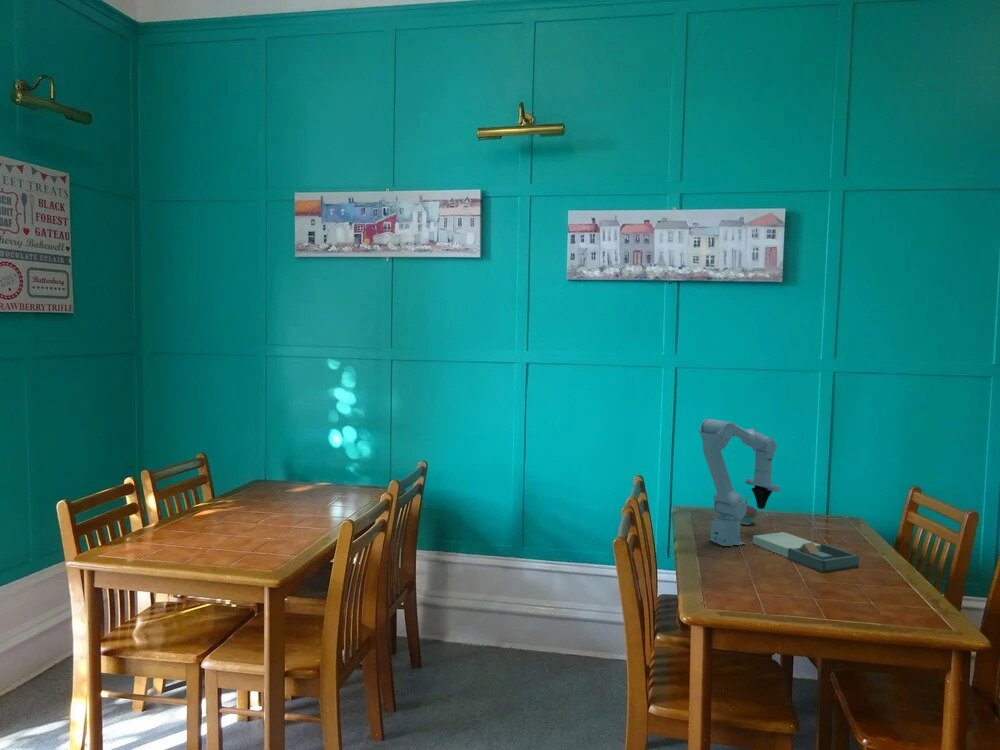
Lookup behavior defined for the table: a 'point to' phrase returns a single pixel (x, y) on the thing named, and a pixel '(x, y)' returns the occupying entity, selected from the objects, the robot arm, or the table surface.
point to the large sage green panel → (781, 542)
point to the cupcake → (749, 513)
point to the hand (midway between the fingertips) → (761, 508)
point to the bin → (837, 562)
